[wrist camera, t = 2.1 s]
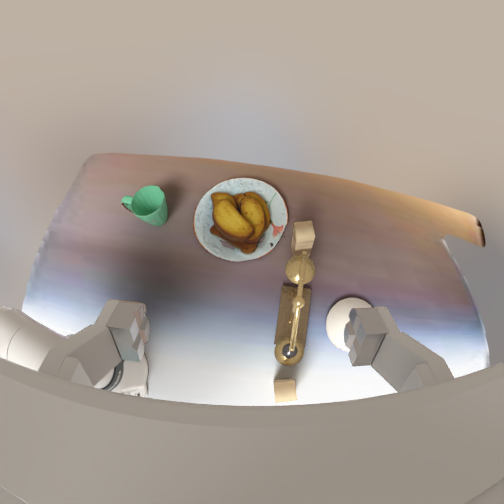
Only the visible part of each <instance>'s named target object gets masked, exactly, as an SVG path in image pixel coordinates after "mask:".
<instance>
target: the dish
mask: <svg viewBox="0 0 504 504" xmlns="http://www.w3.org/2000/svg"><path fill="white" fill-rule="evenodd" d="M352 308H372V307H371V306H370V305H369V304H368V303H367V302H365V301H364V300H361V299H358V298H346V299H343V300H341V301H339V302H338V303H336V304H335V305H334V306H333V307H332V308H331V310H330V311H329V313H328V316H327V319H326V331H327V335H328V337H329V339H330V341H331V342H332V343H333V344H334V345H335V346H336V347H338V348H339V349H341V350H344V351H350V349H349V348H347V347H346V346H345V342H344V328H345V325H346V323H348V322H349V321H350V319H349V313H350V311H351V309H352Z"/></svg>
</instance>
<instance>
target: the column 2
mask: <svg viewBox="0 0 504 504" xmlns="http://www.w3.org/2000/svg"><path fill="white" fill-rule="evenodd" d="M314 239H315V233H314V229H313V224H312V221H304V222H294V228H293V236H292V244H291V247H292V253H293V257H295V256H301V255H302V252H303V251H306V252H307V257H308V258H309V256H310V253H311V249H312V246H313V243H314Z"/></svg>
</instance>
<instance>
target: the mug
mask: <svg viewBox="0 0 504 504" xmlns="http://www.w3.org/2000/svg"><path fill="white" fill-rule="evenodd" d="M121 203H122V205H123V206H124V207H125V208H126V209H127V210H129V211H131V212H133V213H134V214H135V215H136V216H137V217H139V218H140V219H142V220H143V221H145V222H147V223H149V224H152V225H155V226H161V225H163V224H164V223H165V222H166V221H167V215H168V211H167V203H166V198H165V194H164V192H163V191H162V190H161V188H160V187H158V186H155V185H151V186H146V187H144V188H142V189H140V190H139V191H138V192H137V193H136V194H135V195H134V197H132V196H124V198H123V199H122V201H121Z"/></svg>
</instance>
